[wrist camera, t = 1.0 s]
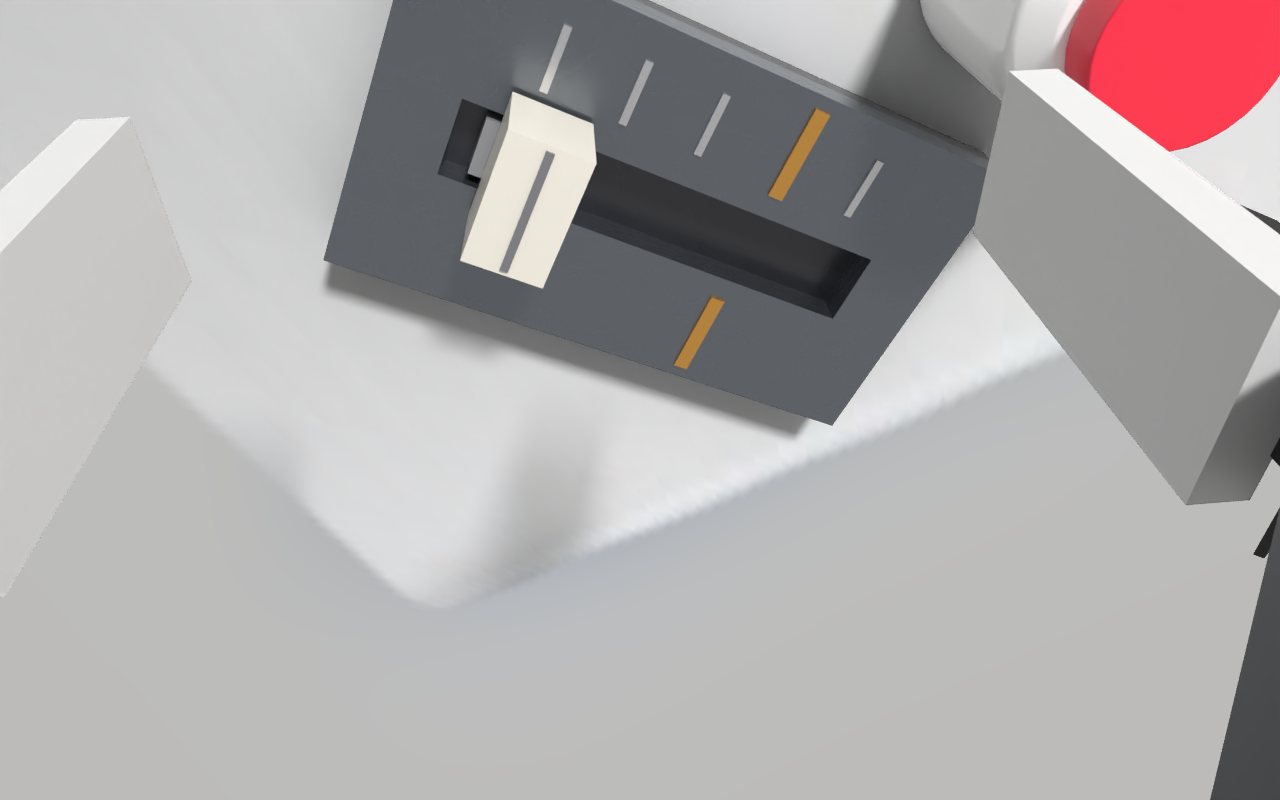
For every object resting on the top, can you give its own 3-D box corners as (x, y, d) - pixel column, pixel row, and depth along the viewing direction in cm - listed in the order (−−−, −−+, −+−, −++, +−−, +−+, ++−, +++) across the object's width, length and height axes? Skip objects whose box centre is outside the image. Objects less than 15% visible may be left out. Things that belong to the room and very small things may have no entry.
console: (336, 230, 37) (322, 261, 35) (426, -102, 30) (416, -87, 28) (819, 393, 44) (832, 427, 42) (983, 152, 37) (1008, 179, 35)
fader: (458, 193, 35) (445, 257, 31) (500, 71, 33) (492, 123, 29) (556, 228, 36) (555, 294, 32) (604, 114, 34) (610, 170, 30)
